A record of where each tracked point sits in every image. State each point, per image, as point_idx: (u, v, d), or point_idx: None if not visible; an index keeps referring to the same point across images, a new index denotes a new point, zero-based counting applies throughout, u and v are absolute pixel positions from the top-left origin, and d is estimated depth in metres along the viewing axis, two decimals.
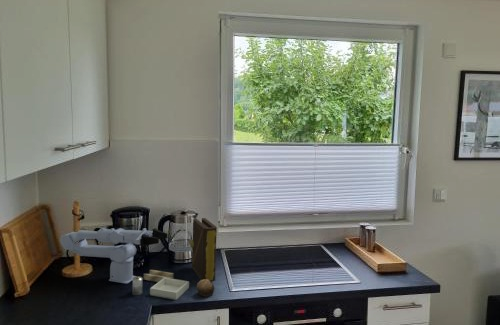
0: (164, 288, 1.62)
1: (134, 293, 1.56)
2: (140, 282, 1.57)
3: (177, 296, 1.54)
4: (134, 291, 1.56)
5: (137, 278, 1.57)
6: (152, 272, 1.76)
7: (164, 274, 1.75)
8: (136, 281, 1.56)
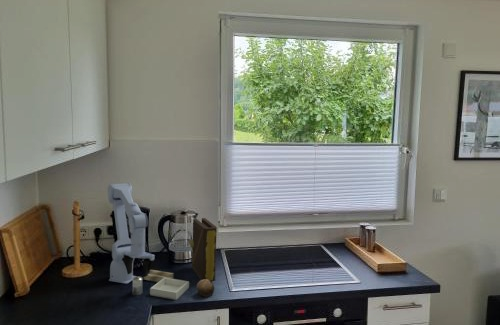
0: (164, 288, 1.62)
1: (134, 293, 1.56)
2: (140, 282, 1.57)
3: (177, 296, 1.54)
4: (134, 291, 1.56)
5: (137, 278, 1.57)
6: (152, 272, 1.76)
7: (164, 274, 1.75)
8: (136, 281, 1.56)
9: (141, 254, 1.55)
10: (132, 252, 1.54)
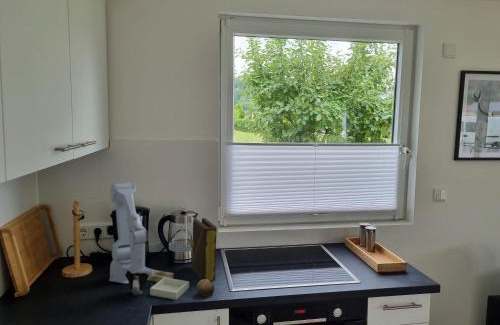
0: (164, 288, 1.62)
1: (134, 293, 1.56)
2: None
3: (177, 296, 1.54)
4: (134, 291, 1.56)
5: (137, 278, 1.57)
6: None
7: (164, 274, 1.75)
8: (136, 281, 1.56)
9: (141, 269, 1.55)
10: (132, 267, 1.55)
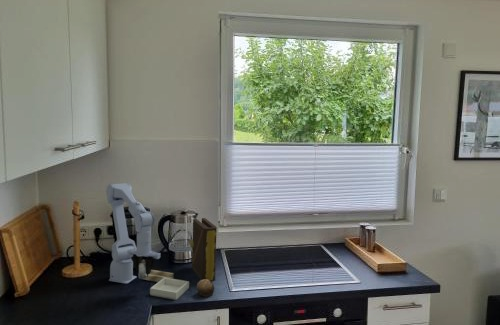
0: (164, 288, 1.62)
1: (140, 277, 1.56)
2: None
3: (177, 296, 1.54)
4: (140, 275, 1.56)
5: (143, 262, 1.57)
6: (152, 272, 1.76)
7: (164, 274, 1.75)
8: (142, 264, 1.55)
9: (147, 252, 1.55)
10: (138, 250, 1.55)
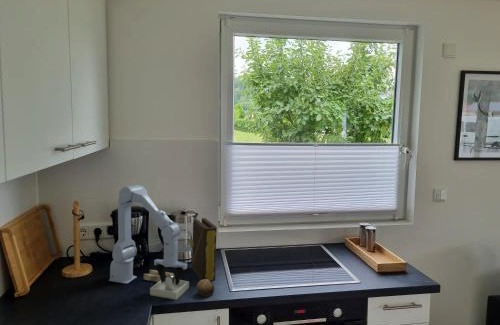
0: (164, 288, 1.62)
1: None
2: (173, 279, 1.59)
3: (177, 296, 1.54)
4: (167, 288, 1.59)
5: (170, 275, 1.59)
6: (152, 272, 1.76)
7: None
8: (168, 278, 1.58)
9: (174, 263, 1.58)
10: (165, 261, 1.57)
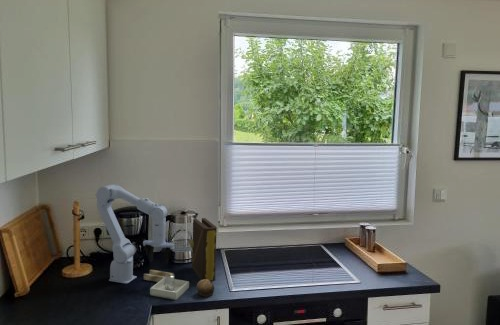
0: (164, 288, 1.62)
1: None
2: (173, 279, 1.59)
3: (177, 296, 1.54)
4: (167, 288, 1.59)
5: (169, 275, 1.59)
6: (152, 272, 1.76)
7: (164, 274, 1.75)
8: (168, 278, 1.58)
9: (162, 243, 1.65)
10: (154, 241, 1.65)
